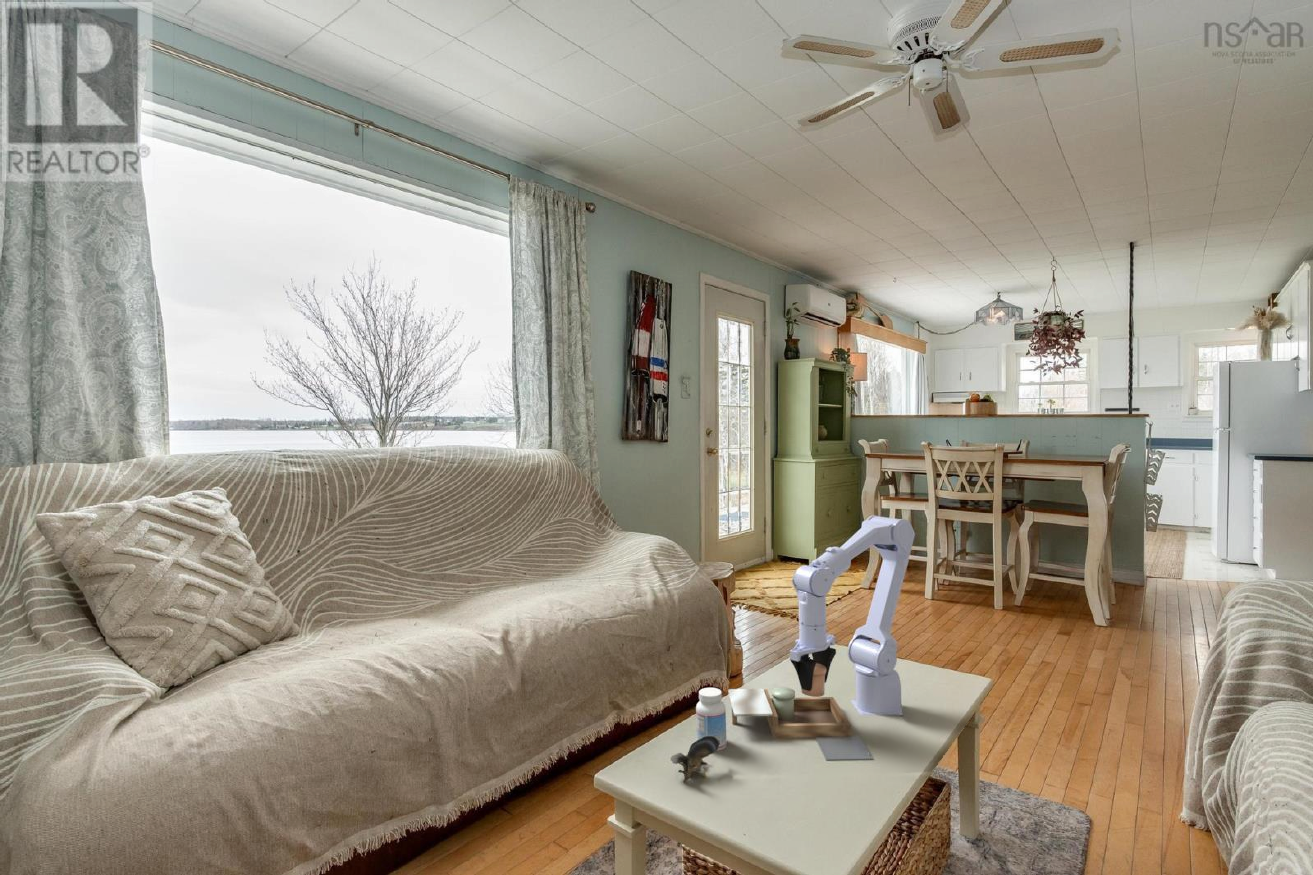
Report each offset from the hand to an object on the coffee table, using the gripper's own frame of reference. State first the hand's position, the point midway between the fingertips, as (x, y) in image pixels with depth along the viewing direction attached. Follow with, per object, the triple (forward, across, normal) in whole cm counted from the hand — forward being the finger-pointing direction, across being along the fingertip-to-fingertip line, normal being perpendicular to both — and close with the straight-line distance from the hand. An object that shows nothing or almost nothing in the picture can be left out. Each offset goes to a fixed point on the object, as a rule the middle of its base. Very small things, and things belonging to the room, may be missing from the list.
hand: (813, 685), depth 139 cm
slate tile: (+9, +5, +10) cm, 14 cm away
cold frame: (+9, +3, -5) cm, 11 cm away
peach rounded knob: (+2, 0, 0) cm, 2 cm away
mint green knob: (+9, +1, -7) cm, 11 cm away
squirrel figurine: (+10, +31, -6) cm, 33 cm away
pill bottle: (+10, +21, -11) cm, 26 cm away
